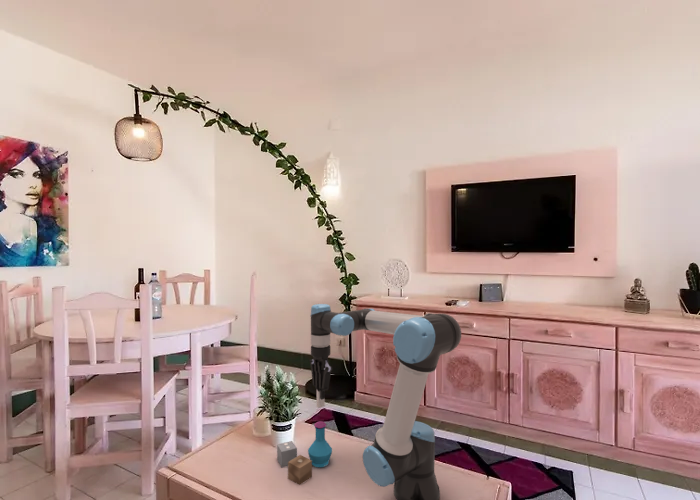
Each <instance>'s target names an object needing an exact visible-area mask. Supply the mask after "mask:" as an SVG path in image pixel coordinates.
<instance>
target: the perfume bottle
mask: <svg viewBox="0 0 700 500" xmlns="http://www.w3.org/2000/svg"><path fill="white" fill-rule="evenodd" d="M313 426H314V429H315V439H314V440H313V442H312V444H310V446H309V448H308V449H307V453H308V458H309V459H310V460H312V467H315V468H324V467H326V466H328V465H329V461H330V459H331V456H332V453H333V448H332V447H331V445H330V443H329V442H328V441H327V440H326V435H325V434H326V431H325V430H326V427H327V423H326V422H325V421H321V420H320V421H317V422H315V423H314V425H313Z"/></svg>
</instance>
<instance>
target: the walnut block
mask: <svg viewBox="0 0 700 500" xmlns="http://www.w3.org/2000/svg"><path fill="white" fill-rule="evenodd" d="M312 477H313V465H312V460H310V458H309V457H308V458H307V457H305V456H303V455H301V454H299V455H297V457H296V458H294V459H292V460H291V461H289V462H288V466H287V479H288V480H289V481H292V482H294V483H295V484H297V485H299V486H301V485H302V484H304V483H305V482H307V481H309V480H310V479H311V478H312Z"/></svg>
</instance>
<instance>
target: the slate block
mask: <svg viewBox="0 0 700 500" xmlns="http://www.w3.org/2000/svg"><path fill="white" fill-rule="evenodd" d="M297 456H298V447H297V446H296V444H295V443H294V442H293V441H292V440H290V441H286V442H281V443H277V444H276V460H277V463H278V465H279V466H280V468H285V467H288V462H289V461H291V460H292V459H294V458H296V457H297Z"/></svg>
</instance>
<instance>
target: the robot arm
mask: <svg viewBox="0 0 700 500" xmlns="http://www.w3.org/2000/svg"><path fill="white" fill-rule="evenodd" d="M310 308H311V309H310V345H311V346H310V355H311V357H312V359H309V365H310V370H311V378H312V379H311V380H312V387H315V389H316V394H315V396H316V408H318V409H320V408H324V407H325V406H326V404H325V403H326V402H325V401H326V399H325V398H326V391H328V390H329V388H330V381H331V374H332V371H333V366H331V365H330V364H329V363H330V361H329V357H330V356H331V345H330V344H331V334H334V335H337V336H343V337H345V336H349V335H350V334H351V333H352V332H356V331H363V330H364V331H368V332H371V331H372V332H376V333H382V334H383V333H384V334H389V335H393V338H392V341H393V342H392V344H393V346H394V351H395V354H396V359H397V361H398V363H399V366H398V370H397V373H396V377H395V380H394V385H393V388H392V391H391V396H390V400H389V402H388V403H389V404H388V408H387V411H386V415H385V418H384V422H383V426H381V427H379V428H378V430H377V431H376V433H375V435H374V439H373V443H372V444H371V445H367V447H366V448H364V450H363V453H362V461H363V463H362V464H363V466H364V468H365V471H366V473H367V475H368V477H369V478H370V479H371V480H372V481H373V483H374V484H375V485H377V486H379V487H388V486H389V485H393V495H394V497H395V499H396V500H440V498H441V495H440V492H441V491H440V486H439V484H438V480H437V477H436V473H435V460H436V459H435V455H436V454H435V452H436V451H435V447H436V446H435V443H436V439H435V432H434V429H433V428H432V427H431V426H430V425H429V424H427V423H425V422H421V421H417V420H416V419H417V415H418V412H419V408H420V405H421V401H422V398H423V395H424V391H425V387H426V385H427V380H428V377H429V374H431V373H434V372H435V371H436V370H437V366H438V363H439V360H440V356H442V355H444V354H447V353H451V352H452V351H454V350H455V349H456V348H458V346H459V345H460V343H461V339H462V329H461V326H460V324H459V322H458V321H457V320H456V318H454V317H453V316H451V315H449V314H445V313H429V312H428V313H426V314H424V315H418V314H410V313H401V312H399V313H398V312H388V311H382V310H381V311H379V310H375V308H363V309H357V310H351V311H350V310H349V311H343V312H342V311H341V312H335V311H332V309H331V305H329V304H327V303H318V304H317V303H316V304H313V305H311V307H310Z"/></svg>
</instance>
